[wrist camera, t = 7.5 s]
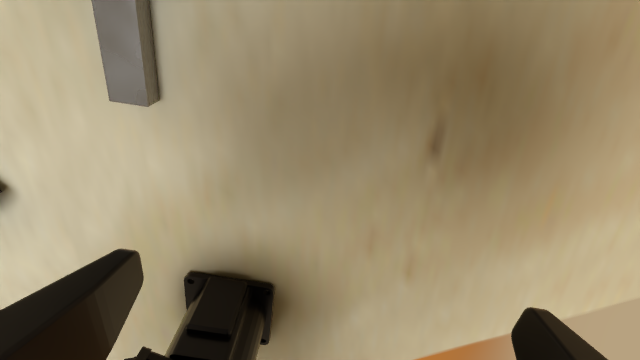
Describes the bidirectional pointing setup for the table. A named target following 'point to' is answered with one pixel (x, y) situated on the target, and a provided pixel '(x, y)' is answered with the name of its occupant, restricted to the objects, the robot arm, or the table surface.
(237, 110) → the table surface
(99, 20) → the stand
